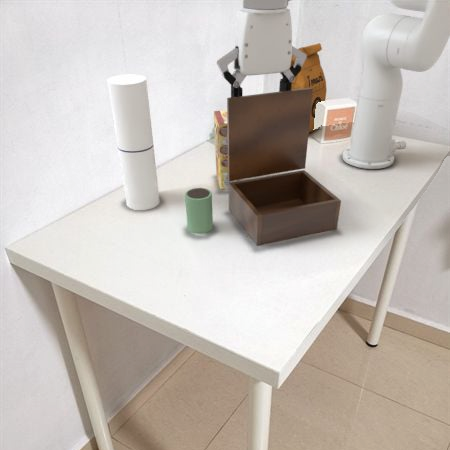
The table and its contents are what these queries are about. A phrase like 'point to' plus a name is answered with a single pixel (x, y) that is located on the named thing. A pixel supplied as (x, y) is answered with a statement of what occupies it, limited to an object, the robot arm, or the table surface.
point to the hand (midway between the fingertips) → (260, 105)
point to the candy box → (221, 148)
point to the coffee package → (311, 78)
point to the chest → (283, 207)
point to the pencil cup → (199, 210)
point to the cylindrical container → (134, 139)
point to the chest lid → (268, 133)
